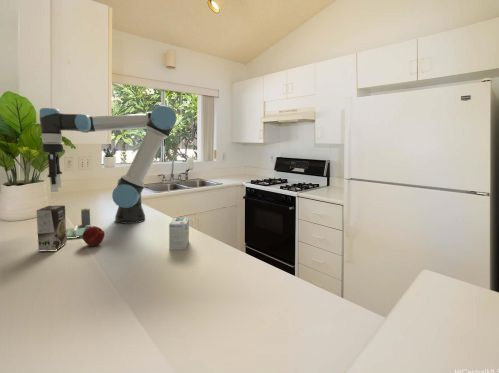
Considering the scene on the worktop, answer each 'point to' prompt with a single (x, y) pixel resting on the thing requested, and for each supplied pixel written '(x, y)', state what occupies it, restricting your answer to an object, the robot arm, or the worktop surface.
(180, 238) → the light bulb box
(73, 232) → the board
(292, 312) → the worktop surface
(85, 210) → the plug
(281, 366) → the worktop surface
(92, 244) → the apple
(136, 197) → the robot arm
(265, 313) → the worktop surface
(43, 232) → the coffee box
